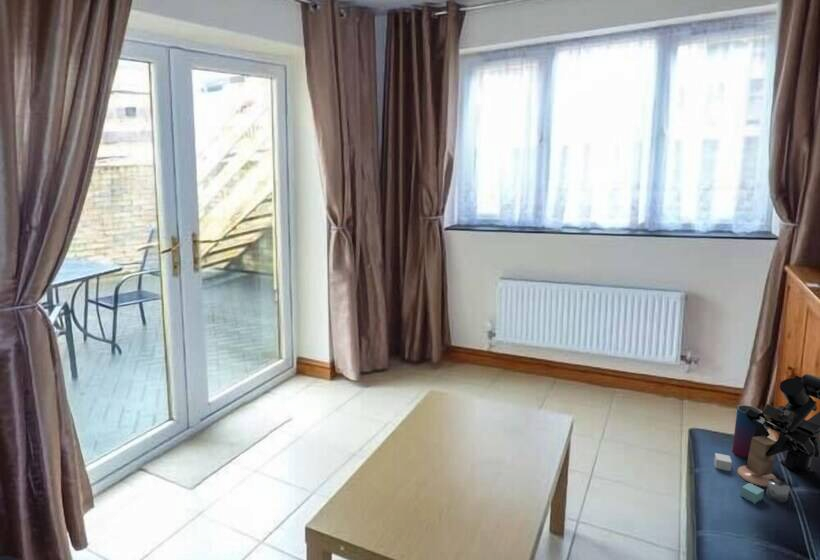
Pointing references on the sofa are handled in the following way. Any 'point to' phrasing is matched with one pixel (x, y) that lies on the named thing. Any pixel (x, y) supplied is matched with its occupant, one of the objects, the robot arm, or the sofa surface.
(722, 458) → the grey block
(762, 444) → the walnut block
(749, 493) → the teal block
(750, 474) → the coaster
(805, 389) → the robot arm
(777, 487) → the metal bowl
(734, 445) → the cup
